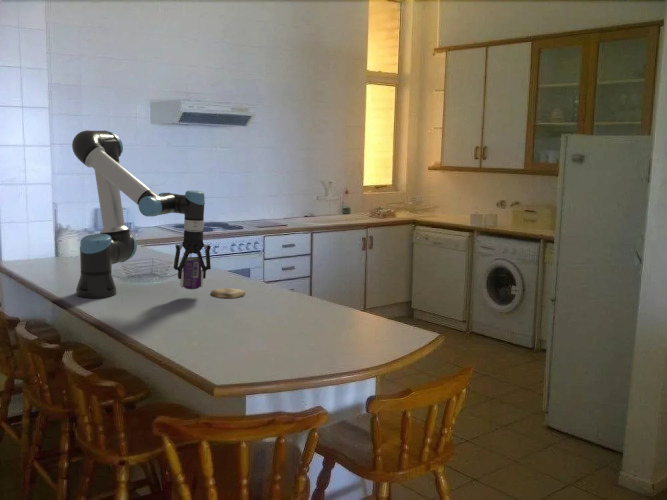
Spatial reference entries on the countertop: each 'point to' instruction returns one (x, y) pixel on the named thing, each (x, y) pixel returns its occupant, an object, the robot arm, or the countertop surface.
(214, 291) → the coaster
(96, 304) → the countertop surface
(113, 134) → the robot arm
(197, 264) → the beverage can
